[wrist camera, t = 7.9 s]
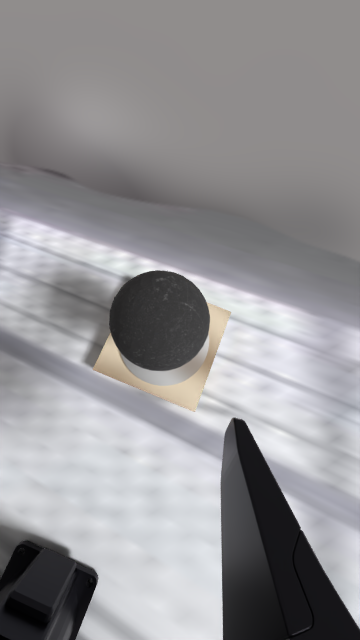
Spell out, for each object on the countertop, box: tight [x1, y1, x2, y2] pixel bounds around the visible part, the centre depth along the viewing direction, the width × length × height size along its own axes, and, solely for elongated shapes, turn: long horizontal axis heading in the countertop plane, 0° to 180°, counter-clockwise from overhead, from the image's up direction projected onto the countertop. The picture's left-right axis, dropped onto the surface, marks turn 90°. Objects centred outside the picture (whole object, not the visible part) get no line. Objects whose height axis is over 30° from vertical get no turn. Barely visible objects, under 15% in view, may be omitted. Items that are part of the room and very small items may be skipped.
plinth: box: [93, 275, 231, 412], centre depth 22 cm, size 9×9×2 cm
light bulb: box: [109, 271, 210, 371], centre depth 16 cm, size 6×6×10 cm
